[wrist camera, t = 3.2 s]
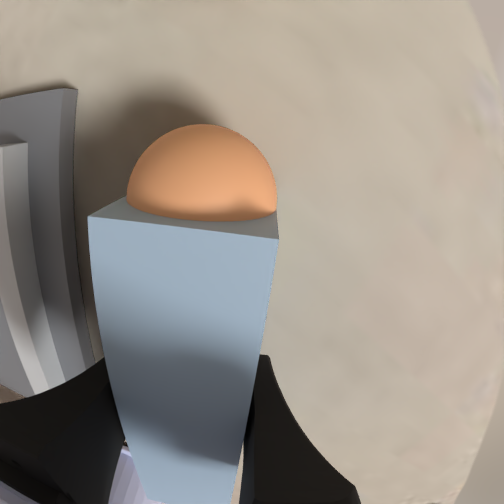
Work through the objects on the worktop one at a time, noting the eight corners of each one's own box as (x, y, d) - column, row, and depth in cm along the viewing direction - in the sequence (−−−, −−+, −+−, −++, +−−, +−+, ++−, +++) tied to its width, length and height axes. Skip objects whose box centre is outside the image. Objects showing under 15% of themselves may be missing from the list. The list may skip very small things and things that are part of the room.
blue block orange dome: (236, 440, 16) (227, 514, 11) (168, 429, 16) (147, 498, 11) (282, 132, 10) (294, 132, 5) (165, 122, 10) (89, 121, 5)
